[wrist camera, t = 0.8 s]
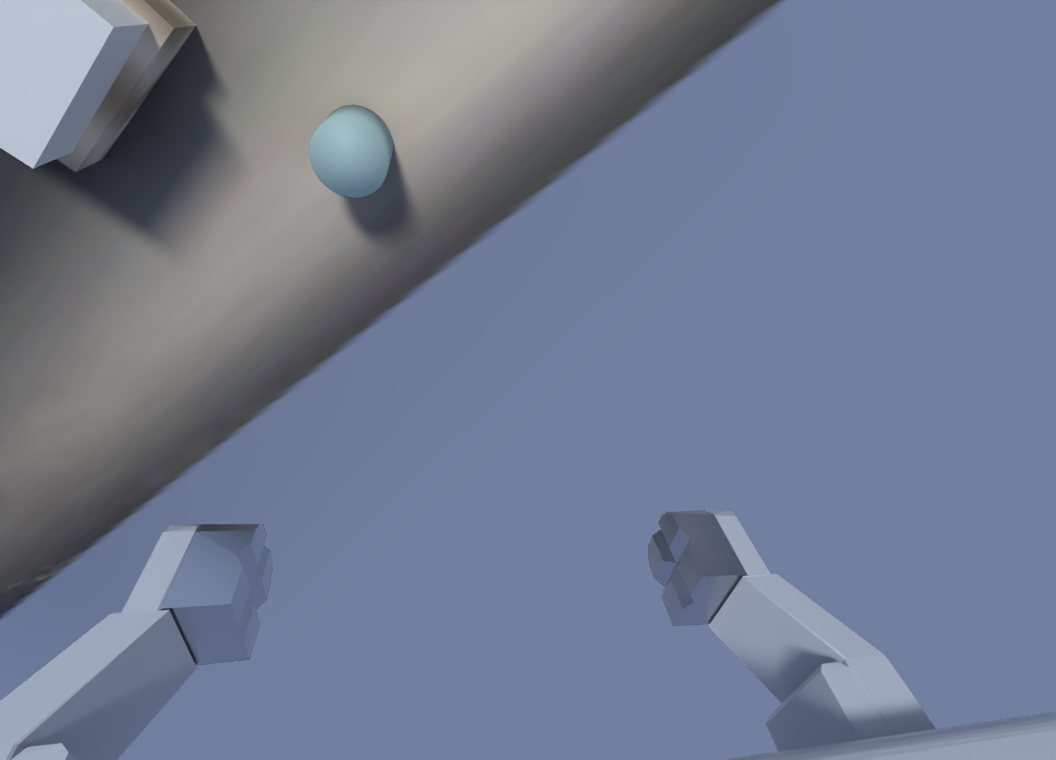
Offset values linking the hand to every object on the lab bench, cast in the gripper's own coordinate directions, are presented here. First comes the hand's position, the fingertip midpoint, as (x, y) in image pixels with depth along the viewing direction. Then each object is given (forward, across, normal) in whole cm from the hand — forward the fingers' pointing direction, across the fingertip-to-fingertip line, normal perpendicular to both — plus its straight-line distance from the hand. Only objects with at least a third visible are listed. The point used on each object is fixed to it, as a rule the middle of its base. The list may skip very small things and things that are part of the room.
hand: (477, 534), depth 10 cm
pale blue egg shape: (+36, +6, 0) cm, 36 cm away
